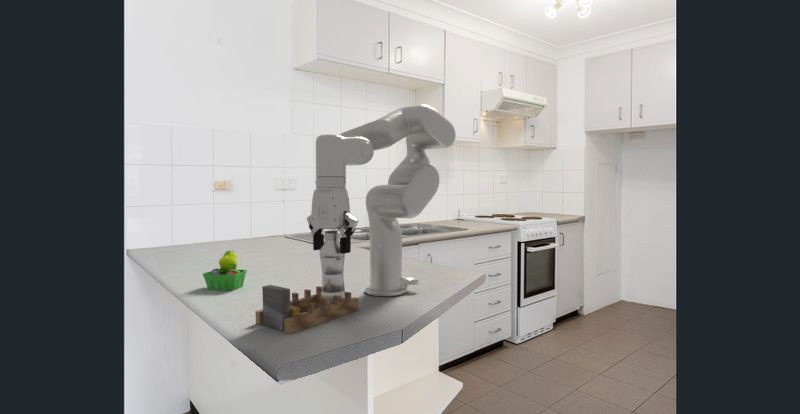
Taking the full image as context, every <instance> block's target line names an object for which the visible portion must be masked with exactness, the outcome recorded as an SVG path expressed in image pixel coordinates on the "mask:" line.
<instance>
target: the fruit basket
mask: <svg viewBox="0 0 800 414" xmlns="http://www.w3.org/2000/svg"><path fill="white" fill-rule="evenodd" d="M218 264H219V268H213V269H212V270H209V271H207V272H203V273H202V276H203V278H204V281H205V284H206V288H207V289H208V290H217V291H219V290H223V291H236V290H238V289H240V288H241V287H243V286H244V283H245V277H246V274H247V272H248V270H247V269H237V266H238V260H237V254H236V253H235V251H234V250H227V251H225V253H224V254H223V256H222V257H220V258H219V261H218Z"/></svg>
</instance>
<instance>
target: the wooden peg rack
mask: <svg viewBox="0 0 800 414" xmlns="http://www.w3.org/2000/svg"><path fill="white" fill-rule="evenodd" d="M261 290H262V291H261V292H262V309H257V310H255V324H256V325H263V326H265V327H268V328H271V329H272V330H273V329H274V330H276V331H281V332H284V333H285V334H288V335H291V334H293V333H297V332H300V331H303V330H305V329H308V328H310V327H313V326H317V325H320V324H322V323H325V322H328V321H331V320H333V319H337V318H340V317H342V316H346V315H349V314H350V313H354V312H356V311H359V303H360V302H359V301H360V300H359V298H358V297H352V292H349V291H345V300H344V301H341V302H340V296H337V295H334V296H333V304H331V305H328V300H327V299H321V292H322V286H319V285H317V286H315V290H316V291H315V294H311V293H312V289H308V288H306V289H304V292H303V293H304V297H301V298H299V293H298V292H295V291H294V292H291V289H290V288H287V287H283V286H278V285H274V284H273V285H272V284H267V285H264V286H262V289H261ZM320 299H321V300H320Z"/></svg>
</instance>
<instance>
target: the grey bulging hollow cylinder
mask: <svg viewBox="0 0 800 414" xmlns="http://www.w3.org/2000/svg"><path fill="white" fill-rule="evenodd" d="M340 238H341V235H340V232H339V231H338V230H325V231H324V239H325V240H324V244H323V245H322V247H321V249H320V250H319V258H320V259H319V260H320V265H321V277H322V280H321V287H322V292H321V299H327V300H328V305H331V304H333V296H334V295H337V296H340V302H341V301H344V300H345V292H346V288H345V278H344V271H345V269H344V268H345V267H344V266H345V259H346V258H345V256H346V253H344V254H341V253H340ZM321 299H320V300H321Z"/></svg>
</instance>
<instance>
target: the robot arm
mask: <svg viewBox="0 0 800 414" xmlns="http://www.w3.org/2000/svg"><path fill="white" fill-rule="evenodd" d="M403 139H405V142H406V143H405V144H406V156H405V157H404V159H402V161H401V162H400V163H399V164H398V165H397V166H396V167H395V168H394V169H393V171H392V172H391V174H389V177H388V180H387V184H378V185H375V186H373V187H372V188H370V189H369V190H368V191H367V194H366V196H365V207H366V213H367V217H368V224H369V225H368V226H369V227H368V228H369V266H370V267H369V269H370V270H369V272H370V273H369V275H370V277H369V278H370V279H369V281H370V284H369V285H367V286H366V287H365V290H364V291H365V293H366V294H368V295H370V296H375V297H395V296H400V295H405V294H406V293H407V292H408V290H409V289H408V288H409V287H408V286H418V285H419V279H418V278H414V277H405V276H404V274H403V232H402V228H401V225H400V223H399V220H398V219H413V218H416V217H418V216H419V215H420V214H421V213H422V212H423V211H424V210H425V208H426V207H427V205H428V204H429V203H430V202H431V200H432V199H433V198H434V196H435V195H436V193H437V191H438V189H439V187H440V186H439V185H440V174H439V171H438V169H437V168H436V167H435V166H434V165H431V163H430V159H429V157H428V156H427V154H426V150H432V149H433V150H434V149H436V150H437V149H446V148H449V147H451V146H452V145H454V144H455V143H454V142H455V141H456V129H455V126H454V125H453V124H452V123H451V121H449V120H448V119H447V118H446V117H445V116H443V115H442V114H441V113H440V112H439V111H438V110H436V109H435V108H434V107H431V106H430V105H428V104H418V105H411V106H402V107H399V108H397V109H395V110H393V111H392V112H389V113H387V114H385V115H383V116H382V117H380V118H377V119H376V120H374V121H370V122H367V123H364V124H363V125H359V126H357V127H354V128H350V129H348V130H346V131H344V132H342V133H339V134H320V135H319V136H317V137H316V139H315V182H314V183H315V187H316V188H315V189H313V193H312V199H311V200H312V201H311V210H310V211H311V212H310V213H311V214H310V215H309V216H307V217H306V220H307V224H308V228H309V230H310V233H311V235H312V248H313V249H312V250H313V251H320V249H321V247H322V245H323V244H324V243H325V240H324V237H325V233H323V232H324V230H329V231H339V235H340V239H339V242H340V253H341V254H344V253H345V254H348V253H349V254H350V253H351V252H352V251H351V248H352V245H351V244H352V243H351V240H352V239H351V238H352V237H353V235H354V233H355V232H356V228H357V226H358V224H359V220H358V219H357V218H355V216H353V215H351V207H350V199H349V193H348V189H347V166H361V165H365V164H367V163H370V162H371V160H372V158H373V157H374V153H375V151H379V150H384V149H386V148H389V147H391V146H393V145H395V144H396V143H398V142H400V141H401V140H403Z"/></svg>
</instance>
